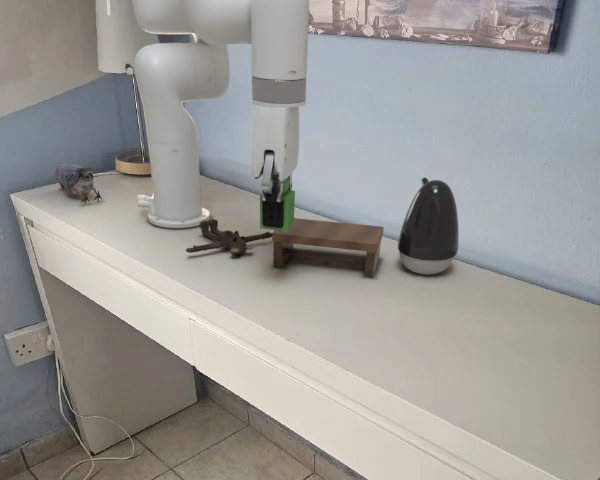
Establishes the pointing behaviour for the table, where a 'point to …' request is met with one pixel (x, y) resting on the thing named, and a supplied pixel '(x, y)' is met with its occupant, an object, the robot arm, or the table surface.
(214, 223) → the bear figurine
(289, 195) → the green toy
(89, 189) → the bird
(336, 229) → the bench
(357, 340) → the table surface
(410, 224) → the pump dispenser
